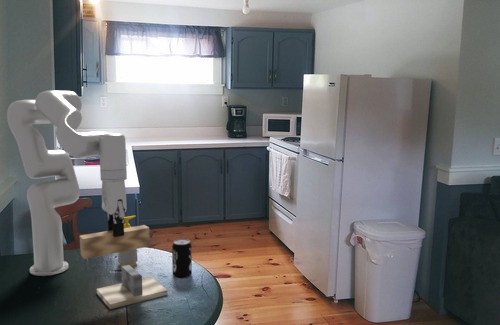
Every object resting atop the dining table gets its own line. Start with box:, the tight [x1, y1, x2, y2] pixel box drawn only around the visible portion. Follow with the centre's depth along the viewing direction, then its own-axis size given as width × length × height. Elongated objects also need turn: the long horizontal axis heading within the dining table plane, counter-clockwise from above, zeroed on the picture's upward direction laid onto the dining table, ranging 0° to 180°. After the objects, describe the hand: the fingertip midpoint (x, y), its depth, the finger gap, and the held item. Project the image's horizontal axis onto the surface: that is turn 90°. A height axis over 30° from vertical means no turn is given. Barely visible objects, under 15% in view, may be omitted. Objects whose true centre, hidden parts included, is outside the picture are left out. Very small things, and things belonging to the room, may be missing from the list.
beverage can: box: [171, 238, 193, 279], centre depth 159 cm, size 7×7×12 cm
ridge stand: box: [96, 265, 168, 310], centre depth 143 cm, size 13×18×8 cm
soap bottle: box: [117, 215, 138, 267], centre depth 168 cm, size 7×7×18 cm
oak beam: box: [79, 224, 151, 260], centre depth 140 cm, size 20×4×6 cm, turn 123°
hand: (116, 233), depth 140 cm, fingers closed on oak beam, 4 cm apart
